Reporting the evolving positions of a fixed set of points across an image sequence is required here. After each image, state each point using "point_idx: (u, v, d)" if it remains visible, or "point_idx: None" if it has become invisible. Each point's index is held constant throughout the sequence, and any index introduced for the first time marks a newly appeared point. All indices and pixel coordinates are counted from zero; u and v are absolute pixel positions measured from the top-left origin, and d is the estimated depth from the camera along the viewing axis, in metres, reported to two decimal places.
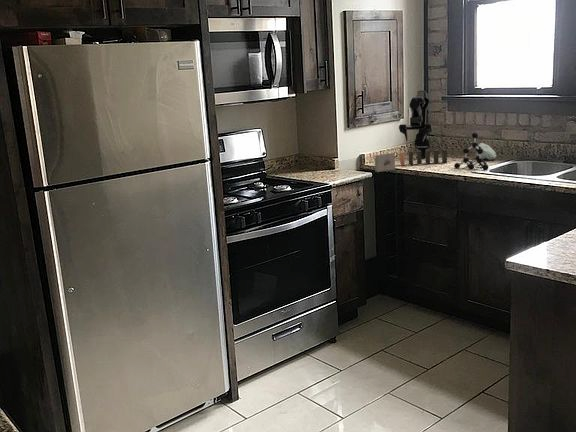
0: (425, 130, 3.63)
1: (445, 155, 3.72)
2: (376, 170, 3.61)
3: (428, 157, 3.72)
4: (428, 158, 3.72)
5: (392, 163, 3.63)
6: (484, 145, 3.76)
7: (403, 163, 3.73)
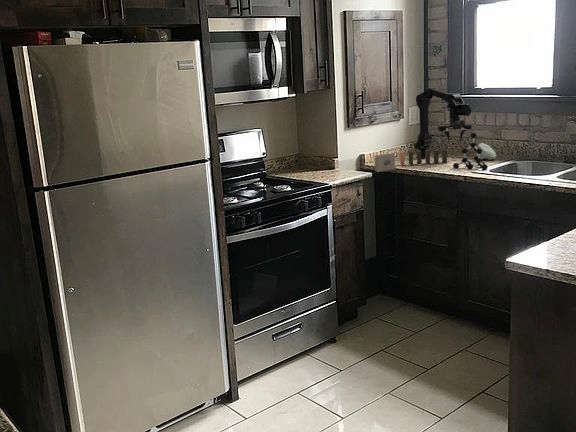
0: (463, 131, 3.69)
1: (445, 155, 3.72)
2: (376, 170, 3.61)
3: (428, 157, 3.72)
4: (428, 158, 3.72)
5: (392, 163, 3.63)
6: (484, 145, 3.76)
7: (403, 163, 3.73)
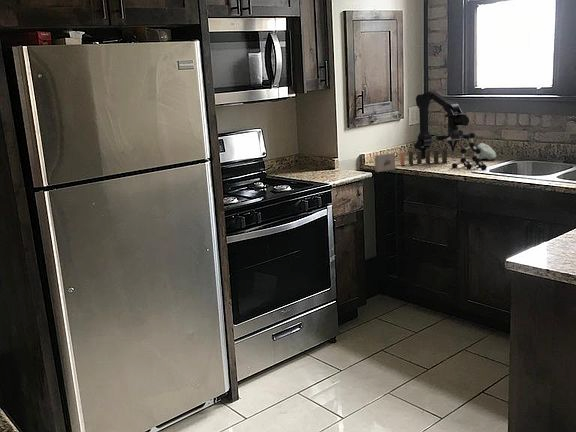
0: (456, 141, 3.70)
1: (445, 155, 3.72)
2: (376, 170, 3.61)
3: (428, 157, 3.72)
4: (428, 158, 3.72)
5: (392, 163, 3.63)
6: (484, 145, 3.76)
7: (403, 163, 3.73)
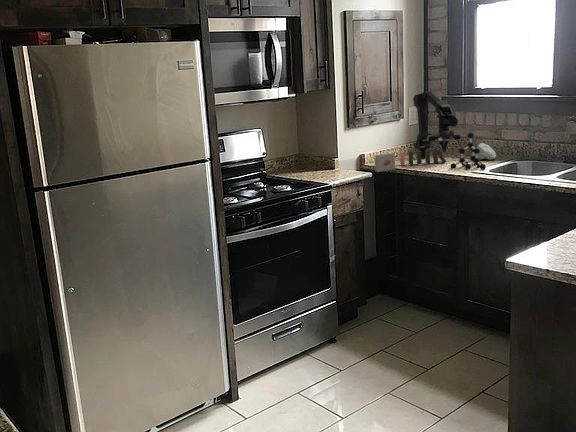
0: (447, 142, 3.70)
1: (441, 156, 3.72)
2: (376, 170, 3.61)
3: (428, 157, 3.72)
4: (428, 158, 3.72)
5: (392, 163, 3.63)
6: (484, 145, 3.76)
7: (403, 163, 3.73)
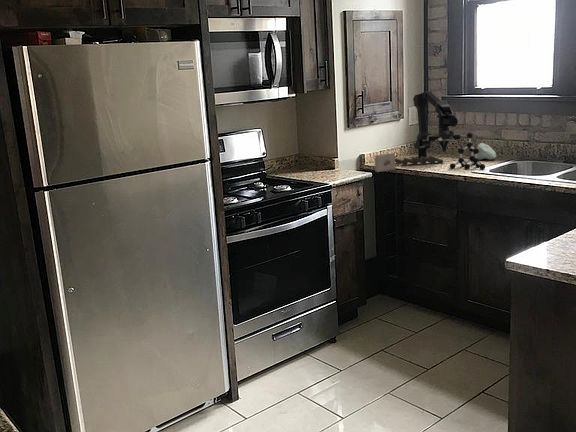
0: (447, 142, 3.70)
1: (435, 159, 3.73)
2: (376, 170, 3.61)
3: (419, 161, 3.73)
4: (420, 161, 3.73)
5: (392, 163, 3.63)
6: (484, 145, 3.76)
7: None
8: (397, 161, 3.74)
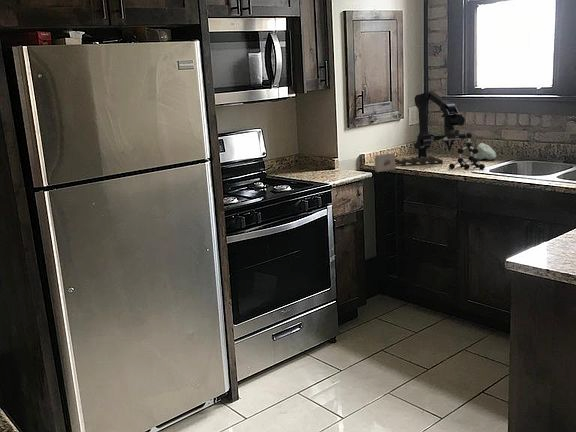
0: (452, 141, 3.70)
1: (435, 159, 3.73)
2: (376, 170, 3.61)
3: (419, 161, 3.73)
4: (420, 161, 3.73)
5: (392, 163, 3.63)
6: (484, 145, 3.76)
7: None
8: (396, 161, 3.73)
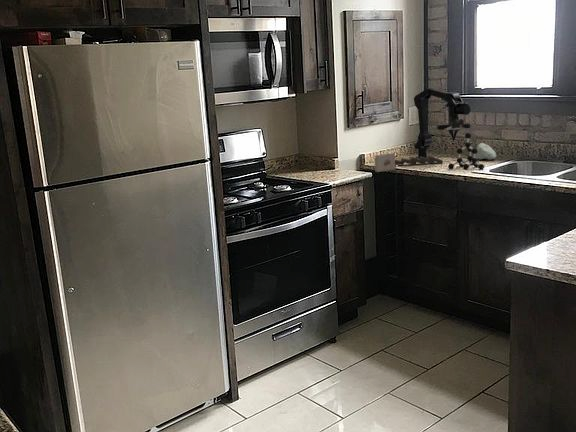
0: (456, 131, 3.71)
1: (435, 159, 3.72)
2: (376, 170, 3.61)
3: (418, 161, 3.73)
4: (419, 161, 3.73)
5: (392, 163, 3.63)
6: (484, 145, 3.76)
7: None
8: None
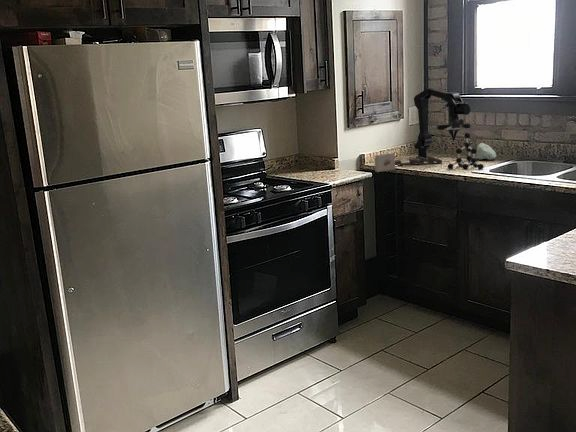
0: (456, 131, 3.71)
1: (434, 159, 3.72)
2: (376, 170, 3.61)
3: (417, 162, 3.73)
4: (418, 162, 3.73)
5: (392, 163, 3.63)
6: (484, 145, 3.76)
7: None
8: None
